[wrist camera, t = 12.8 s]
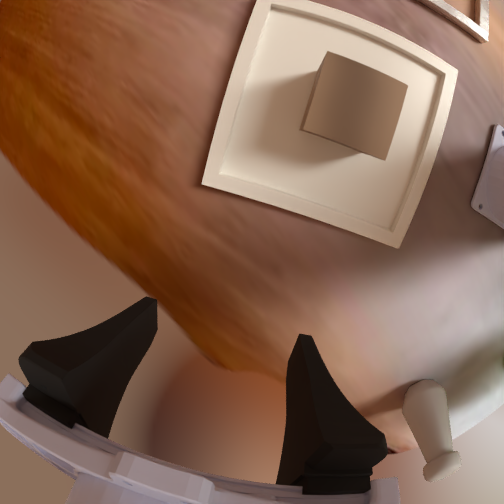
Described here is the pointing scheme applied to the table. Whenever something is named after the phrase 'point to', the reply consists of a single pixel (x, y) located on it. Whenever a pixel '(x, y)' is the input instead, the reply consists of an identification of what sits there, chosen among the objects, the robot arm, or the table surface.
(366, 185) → the tray
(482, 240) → the table surface
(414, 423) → the salt shaker
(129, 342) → the robot arm
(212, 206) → the table surface
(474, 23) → the frame
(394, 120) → the walnut block
